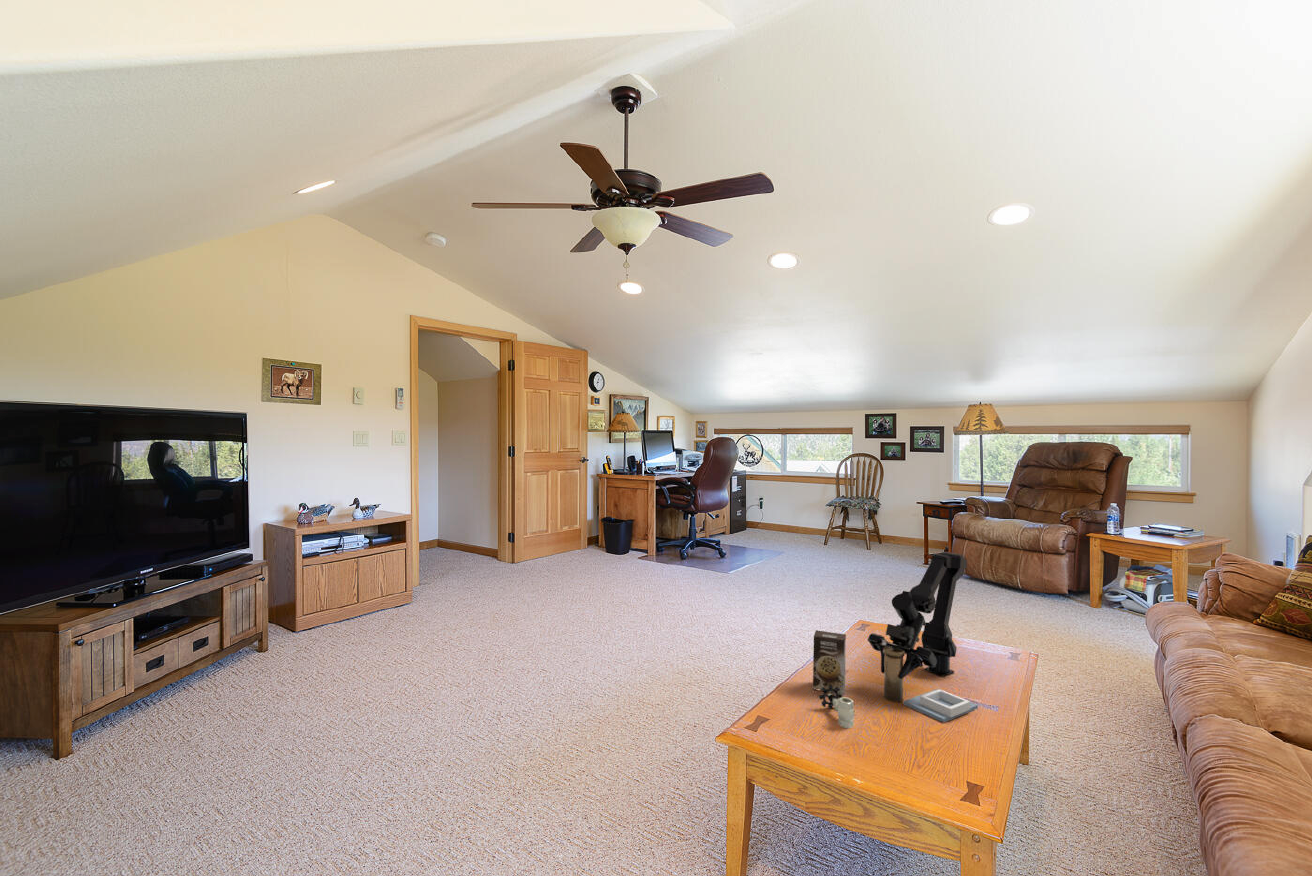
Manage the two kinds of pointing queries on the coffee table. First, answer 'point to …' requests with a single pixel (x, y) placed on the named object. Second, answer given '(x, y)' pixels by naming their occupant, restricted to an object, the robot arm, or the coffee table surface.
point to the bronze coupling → (893, 673)
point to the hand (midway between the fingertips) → (891, 675)
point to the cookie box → (829, 660)
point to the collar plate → (940, 705)
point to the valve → (839, 706)
